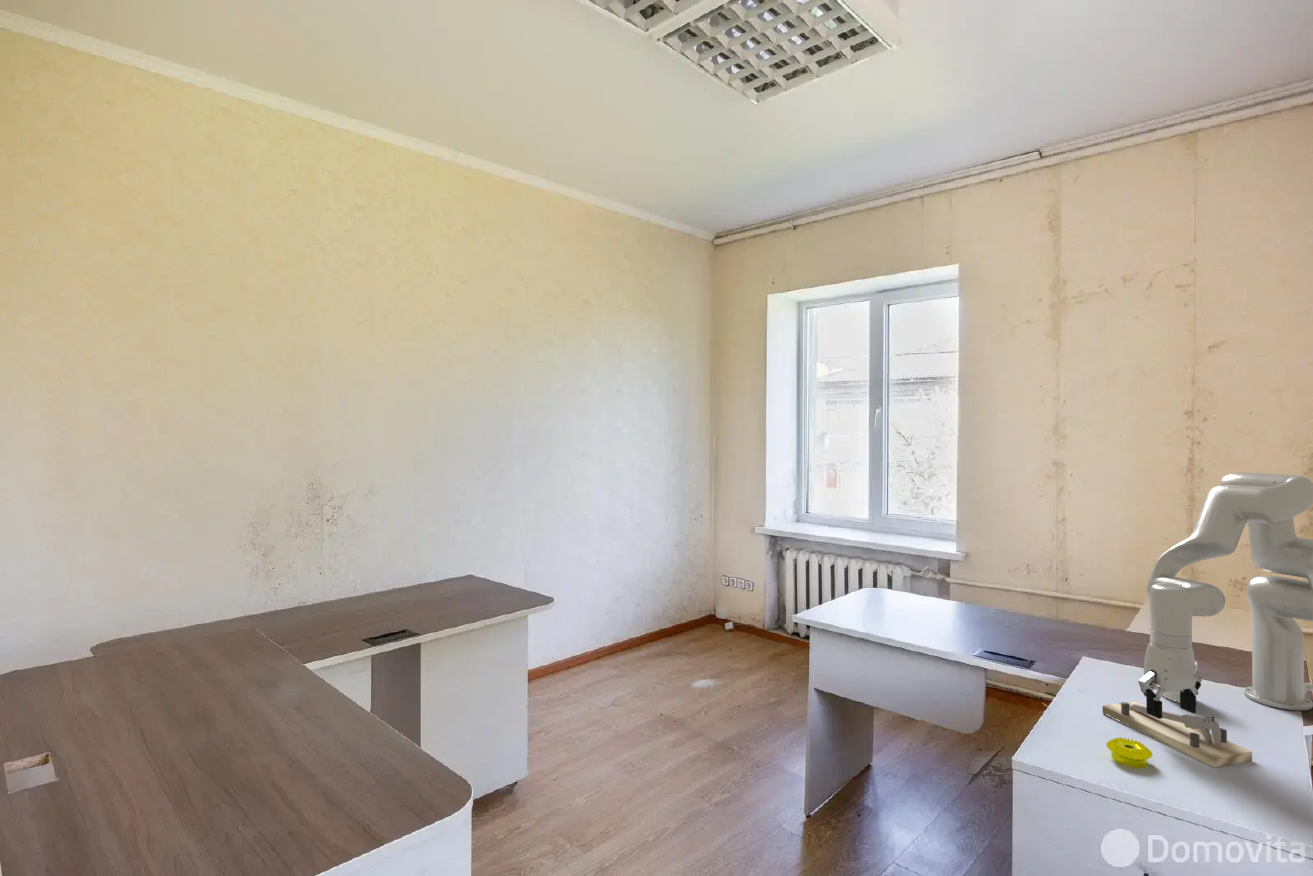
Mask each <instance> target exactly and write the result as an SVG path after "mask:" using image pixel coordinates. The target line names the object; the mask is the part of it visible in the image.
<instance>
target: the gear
mask: <svg viewBox="0 0 1313 876" xmlns="http://www.w3.org/2000/svg"><path fill="white" fill-rule="evenodd" d="M1105 744H1106V747H1107V749H1109V750H1110V751H1111V759H1112V760H1113V761H1114V760H1115V761H1114V762H1116V763H1118V764H1119V765H1122V766H1125V765H1126V766H1125V767H1128V766H1129V767H1128V768H1133V767H1134V769H1143V768H1146V767H1147V766H1148V759H1151V758H1152V757H1153V752H1152V751H1151V750H1150V749H1149V748H1148V747H1147V746H1146V745H1144V744H1143V743H1141V742H1140V741H1137V740H1134V739H1133V738H1131V739H1130V738H1129V737H1128V738H1127V739H1126V737H1124V738H1123V737H1115V738H1112V739H1110V740H1108V741H1107V742H1106V743H1105Z"/></svg>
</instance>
